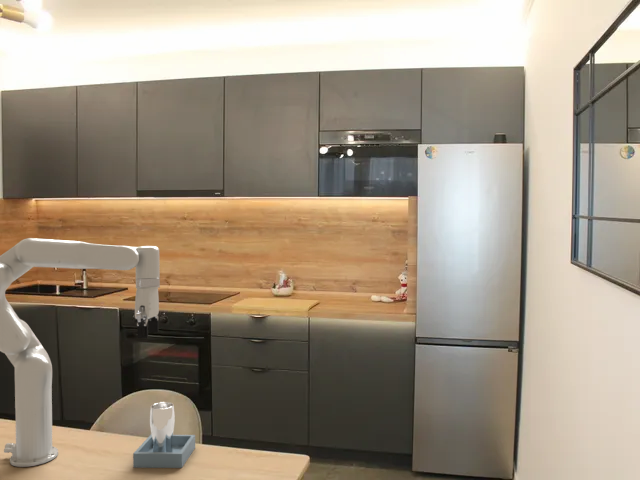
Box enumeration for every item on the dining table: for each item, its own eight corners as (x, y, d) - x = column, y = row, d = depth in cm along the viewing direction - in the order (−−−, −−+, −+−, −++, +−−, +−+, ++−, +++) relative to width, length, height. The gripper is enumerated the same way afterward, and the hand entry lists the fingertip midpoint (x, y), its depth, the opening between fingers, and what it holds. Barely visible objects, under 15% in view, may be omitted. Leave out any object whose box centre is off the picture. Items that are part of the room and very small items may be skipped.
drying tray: (133, 467, 148) (133, 453, 148) (150, 447, 162) (150, 434, 162) (181, 467, 147) (181, 453, 147) (195, 447, 161) (195, 434, 161)
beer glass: (167, 462, 149) (167, 410, 149) (145, 460, 150) (145, 408, 150) (179, 452, 156) (178, 402, 156) (157, 450, 157) (157, 401, 157)
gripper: (146, 281, 180) (146, 330, 180) (125, 286, 162) (126, 340, 163) (167, 281, 179) (168, 330, 180) (149, 286, 162) (150, 340, 162)
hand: (148, 335), depth 171 cm, fingers open, 9 cm apart
